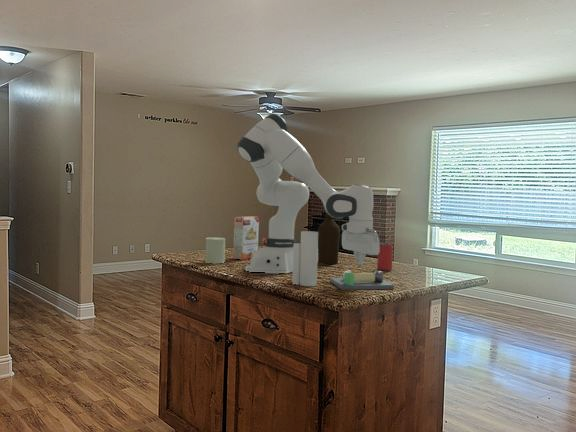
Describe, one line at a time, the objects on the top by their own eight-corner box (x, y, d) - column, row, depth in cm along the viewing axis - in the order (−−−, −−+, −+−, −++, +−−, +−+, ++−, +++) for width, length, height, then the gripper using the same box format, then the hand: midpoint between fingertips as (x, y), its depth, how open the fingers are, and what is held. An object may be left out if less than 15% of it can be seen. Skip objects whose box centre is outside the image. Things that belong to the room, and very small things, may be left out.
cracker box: (242, 260, 261) (243, 217, 260) (232, 259, 264) (233, 216, 263) (258, 257, 273) (259, 216, 272) (248, 256, 276) (249, 215, 275)
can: (201, 262, 252) (201, 237, 251) (215, 260, 259) (216, 235, 258) (214, 265, 246) (214, 238, 245) (229, 263, 253) (229, 237, 252)
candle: (320, 284, 205) (321, 232, 204) (308, 287, 200) (310, 233, 198) (297, 280, 212) (298, 229, 211) (285, 282, 207) (286, 230, 206)
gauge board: (342, 289, 197) (342, 274, 196) (330, 281, 212) (330, 267, 212) (393, 289, 200) (394, 274, 200) (378, 281, 216) (379, 267, 216)
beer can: (391, 271, 241) (392, 244, 240) (376, 270, 242) (377, 243, 242) (392, 269, 248) (393, 243, 247) (377, 268, 249) (378, 242, 248)
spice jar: (379, 280, 208) (380, 270, 207) (384, 282, 204) (385, 272, 204) (350, 281, 203) (350, 271, 203) (354, 283, 200) (354, 273, 200)
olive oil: (334, 265, 253) (335, 212, 252) (313, 263, 258) (314, 211, 257) (342, 262, 263) (343, 211, 261) (322, 260, 268) (323, 210, 266)
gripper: (384, 229, 196) (383, 267, 197) (352, 224, 214) (351, 259, 215) (370, 230, 193) (368, 268, 194) (339, 225, 211) (338, 260, 212)
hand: (359, 263), depth 205 cm, fingers closed
